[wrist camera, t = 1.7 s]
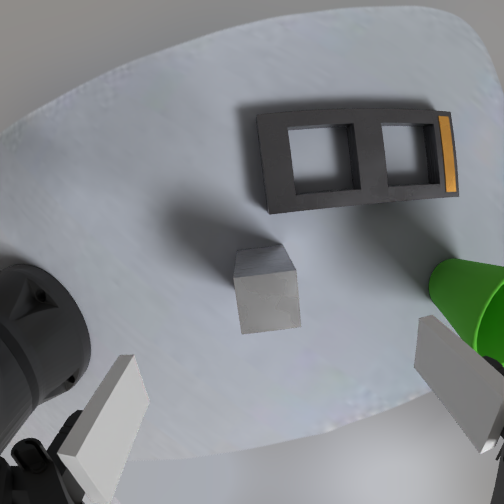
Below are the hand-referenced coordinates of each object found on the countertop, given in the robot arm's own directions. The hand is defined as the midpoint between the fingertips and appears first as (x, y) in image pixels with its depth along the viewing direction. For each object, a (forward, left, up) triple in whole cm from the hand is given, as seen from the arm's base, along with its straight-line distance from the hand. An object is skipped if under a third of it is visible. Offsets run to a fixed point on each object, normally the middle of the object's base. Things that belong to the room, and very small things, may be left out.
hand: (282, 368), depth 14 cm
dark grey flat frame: (+10, +9, -16) cm, 21 cm away
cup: (+19, -4, -16) cm, 25 cm away
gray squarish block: (0, 0, -16) cm, 16 cm away
